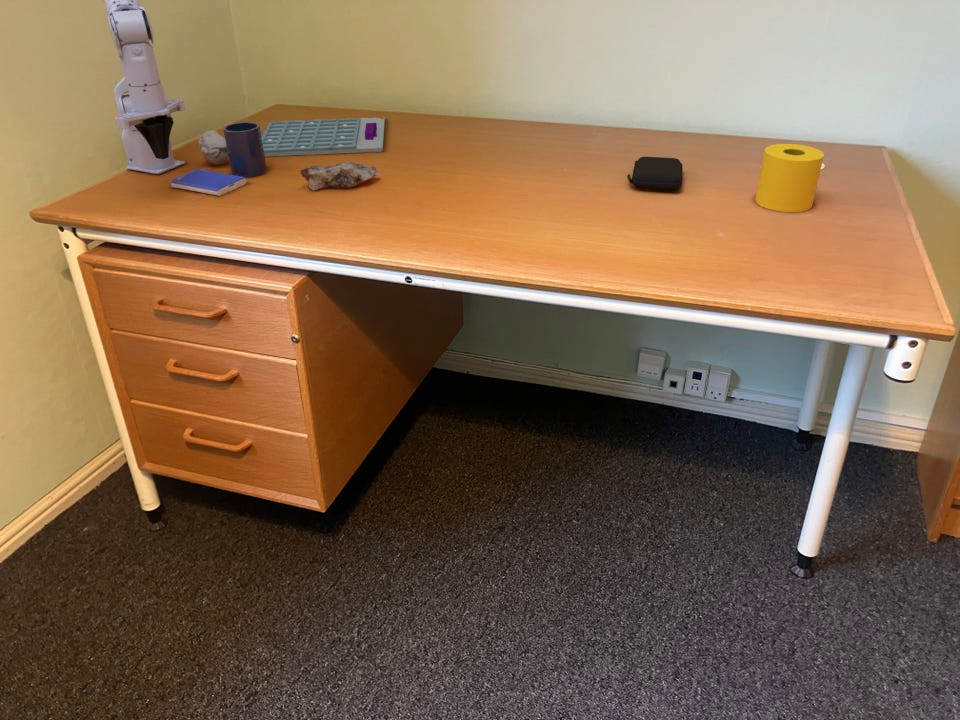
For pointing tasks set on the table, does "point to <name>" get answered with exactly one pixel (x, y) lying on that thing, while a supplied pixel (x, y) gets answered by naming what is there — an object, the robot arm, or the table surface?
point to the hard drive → (208, 182)
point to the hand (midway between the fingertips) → (162, 157)
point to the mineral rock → (338, 175)
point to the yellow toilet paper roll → (789, 177)
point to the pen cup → (245, 149)
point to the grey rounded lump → (213, 147)
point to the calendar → (323, 136)
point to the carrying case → (657, 174)
